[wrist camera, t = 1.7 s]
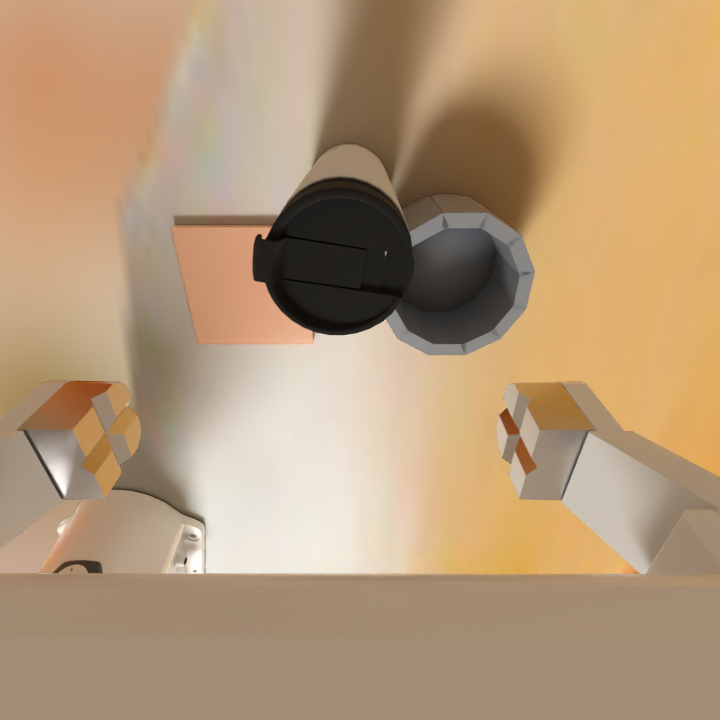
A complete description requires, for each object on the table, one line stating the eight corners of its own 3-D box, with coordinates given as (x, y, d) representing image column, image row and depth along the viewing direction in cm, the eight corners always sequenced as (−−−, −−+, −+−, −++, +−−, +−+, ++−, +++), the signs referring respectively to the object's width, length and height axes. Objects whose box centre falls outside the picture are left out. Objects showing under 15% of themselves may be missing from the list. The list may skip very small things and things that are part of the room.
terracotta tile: (313, 340, 41) (312, 344, 40) (200, 340, 41) (197, 344, 40) (305, 225, 35) (304, 227, 34) (174, 225, 35) (170, 227, 34)
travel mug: (310, 134, 31) (253, 172, 14) (395, 151, 32) (438, 206, 15) (302, 219, 35) (247, 331, 18) (379, 232, 35) (399, 354, 18)
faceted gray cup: (491, 316, 39) (515, 355, 33) (375, 316, 39) (378, 355, 33) (514, 193, 34) (548, 212, 28) (378, 193, 34) (382, 212, 28)
